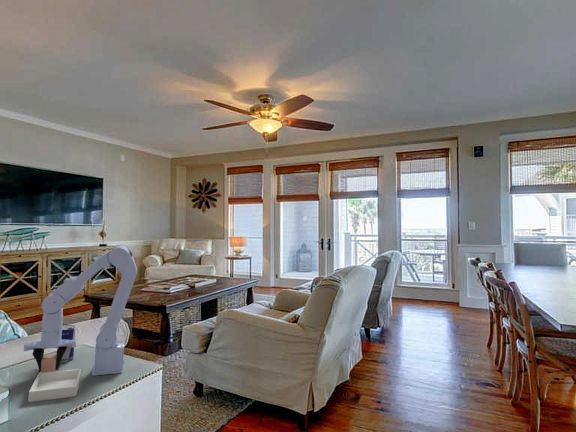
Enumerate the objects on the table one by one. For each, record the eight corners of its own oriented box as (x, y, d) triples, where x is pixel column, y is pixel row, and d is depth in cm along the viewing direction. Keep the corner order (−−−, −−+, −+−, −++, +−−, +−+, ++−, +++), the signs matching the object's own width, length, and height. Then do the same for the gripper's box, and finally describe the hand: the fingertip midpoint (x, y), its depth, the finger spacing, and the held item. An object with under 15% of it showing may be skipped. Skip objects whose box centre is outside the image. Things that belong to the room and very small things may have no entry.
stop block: (57, 370, 120) (58, 353, 120) (54, 376, 117) (56, 358, 117) (43, 372, 119) (44, 354, 119) (40, 377, 115) (41, 359, 115)
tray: (81, 377, 117) (81, 368, 117) (76, 396, 106) (76, 386, 106) (38, 382, 112) (38, 372, 112) (28, 402, 102) (28, 391, 101)
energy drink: (65, 363, 126) (67, 330, 126) (52, 361, 127) (54, 328, 127) (76, 357, 131) (79, 326, 131) (64, 355, 132) (67, 324, 132)
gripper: (78, 324, 124) (75, 362, 124) (29, 326, 118) (26, 366, 118) (75, 331, 118) (72, 371, 118) (23, 334, 112) (20, 376, 112)
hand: (49, 369), depth 118 cm, fingers closed on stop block, 4 cm apart
